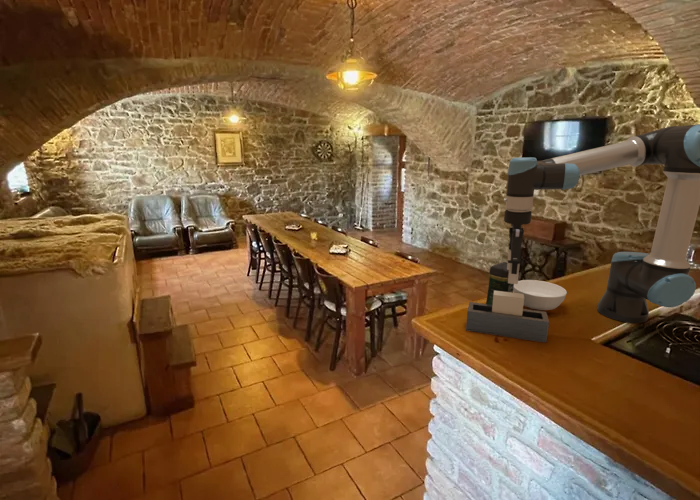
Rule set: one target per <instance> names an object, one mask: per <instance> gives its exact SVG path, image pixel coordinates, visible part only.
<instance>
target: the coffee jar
mask: <svg viewBox="0 0 700 500" xmlns="http://www.w3.org/2000/svg"><path fill="white" fill-rule="evenodd" d="M508 275H509V270H507V262H505V261H502V262H499V263H497V264H494V265H491V266H490V267H489V273H488V276H489V277H488V278H489V279H488V287H487V295H486V302H485V304H489V305H492V304H493V294H494V291H503V292H511V293H514V289H513V288H514V284H511V283H508Z"/></svg>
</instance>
